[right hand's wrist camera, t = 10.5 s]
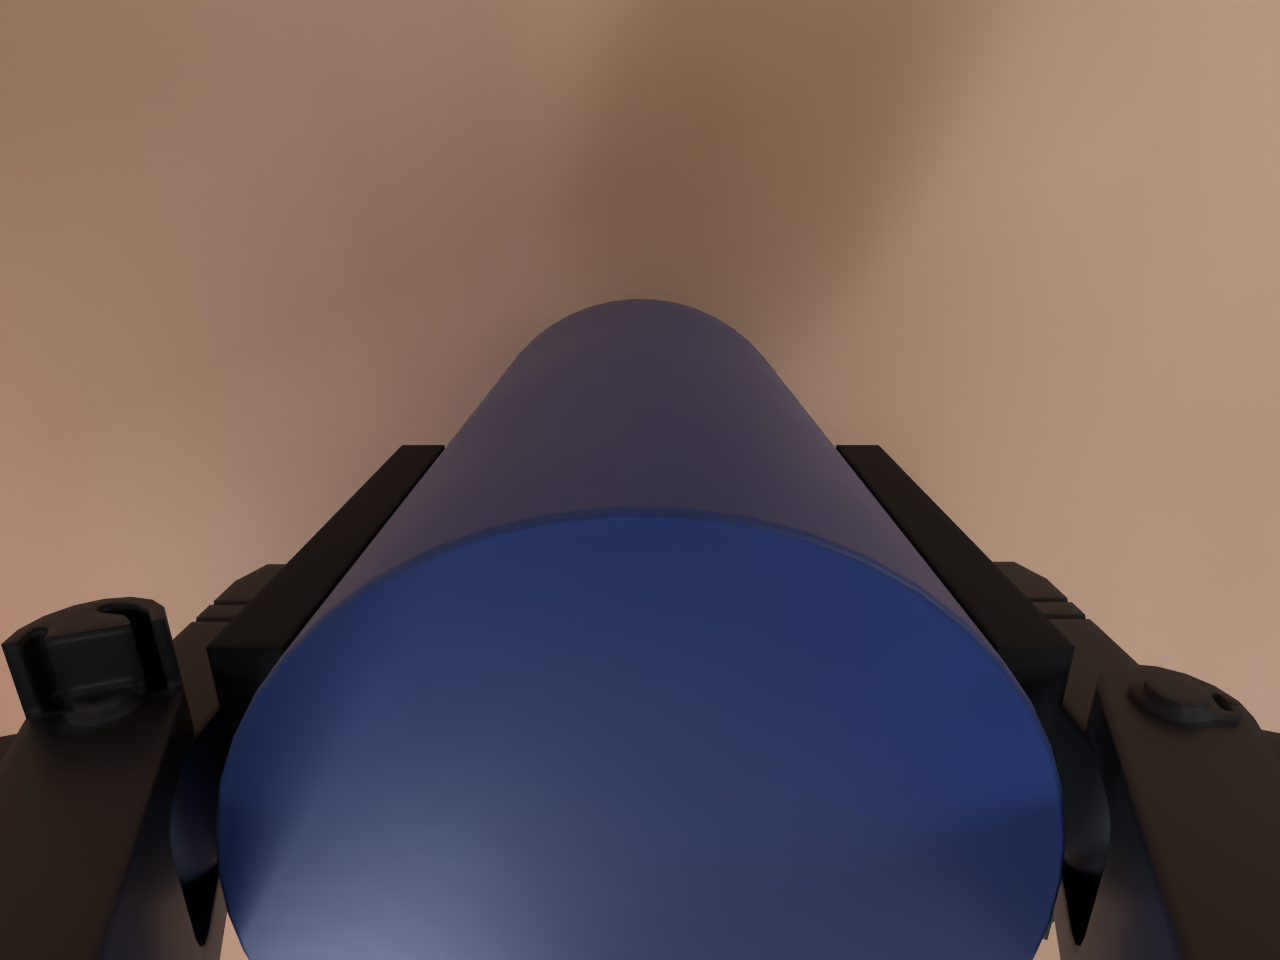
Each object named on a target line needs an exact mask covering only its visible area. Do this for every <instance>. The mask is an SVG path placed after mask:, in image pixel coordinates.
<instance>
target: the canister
mask: <svg viewBox="0 0 1280 960" xmlns="http://www.w3.org/2000/svg"><path fill="white" fill-rule="evenodd" d="M215 835H216V851H217V866H218V874H219V878H220V882H221V887H222V891H223V895H224V899H225V903H226V908H227V912H228V914H229V917H230V919H231V922H232V924H233V926H234V929H235V931H236V934H237V936H238V938H239V941H240V943H241V946H242V948H243V950H244V952H245V954H246V956H247V957H248V959H249V960H1033V958H1034V956H1035V954H1036V951H1037V949H1038V947H1039V945H1040V943H1041V940H1042V938H1043V936H1044V934H1045V932H1046V929H1047V927H1048V925H1049V923H1050V921H1051V917H1052V914H1053V910H1054V906H1055V903H1056V899H1057V895H1058V892H1059V888H1060V884H1061V881H1062V873H1063V863H1064V853H1065V843H1066V829H1065V816H1064V803H1063V791H1062V786H1061V782H1060V778H1059V774H1058V771H1057V767H1056V763H1055V759H1054V755H1053V751H1052V747H1051V744H1050V742H1049V740H1048V737H1047V735H1046V733H1045V731H1044V729H1043V727H1042V724H1041V722H1040V720H1039V718H1038V716H1037V713H1036V711H1035V709H1034V707H1033V705H1032V702H1031V701H1030V699H1029V698H1028V696H1027V695H1026V693H1025V692H1024V690H1023V689H1022V687H1021V686H1020V684H1019V683H1018V681H1017V680H1016V678H1015V677H1014V676H1013V674H1012V673H1011V671H1010V670H1009V668H1008V667H1007V665H1006V664H1005V662H1004V661H1003V659H1002V658H1001V657H1000V656H999V654H998V653H997V652H996V651H995V649H994V648H993V647H992V645H991V644H990V643H989V642H988V640H987V639H986V638H985V637H984V635H983V634H982V633H981V632H980V630H979V629H978V628H977V626H976V625H975V624H974V623H973V621H972V620H971V619H970V618H969V616H968V615H967V614H966V613H965V611H964V610H963V609H962V608H961V606H960V605H959V604H958V602H957V601H956V600H955V599H954V597H953V596H952V595H951V594H950V592H949V591H948V590H947V589H946V587H945V586H944V585H943V584H942V582H941V581H940V580H939V578H938V577H937V576H936V575H935V573H934V572H933V571H932V570H931V568H930V567H929V566H928V565H927V563H926V562H925V561H924V559H923V558H922V557H921V556H920V554H919V553H918V552H917V551H916V549H915V548H914V547H913V546H912V544H911V543H910V542H909V541H908V539H907V538H906V537H905V535H904V534H903V533H902V532H901V530H900V529H899V528H898V527H897V525H896V524H895V523H894V522H893V520H892V519H891V518H890V516H889V515H888V514H887V513H886V511H885V510H884V509H883V508H882V506H881V505H880V504H879V503H878V501H877V500H876V499H875V498H874V496H873V495H872V494H871V492H870V491H869V490H868V489H867V487H866V486H865V485H864V484H863V482H862V481H861V480H860V479H859V477H858V476H857V475H856V474H855V472H854V471H853V470H852V468H851V467H850V466H849V465H848V463H847V462H846V461H845V460H844V458H843V457H842V456H841V455H840V453H839V452H838V451H837V449H836V448H835V447H834V446H833V444H832V443H831V442H830V441H829V439H828V438H827V437H826V436H825V434H824V433H823V432H822V431H821V429H820V428H819V427H818V425H817V424H816V423H815V422H814V420H813V419H812V418H811V417H810V415H809V414H808V413H807V412H806V410H805V409H804V408H803V406H802V405H801V404H800V403H799V401H798V400H797V399H796V398H795V396H794V395H793V394H792V393H791V391H790V390H789V389H788V388H787V386H786V385H785V384H784V382H783V381H782V380H781V379H780V377H779V376H778V375H777V374H776V372H775V371H774V370H773V369H772V367H771V366H770V365H769V364H768V362H767V361H766V360H765V358H764V357H763V356H762V355H761V354H760V353H759V352H758V351H757V350H756V349H755V347H754V346H753V345H752V344H751V343H750V342H749V341H748V340H746V339H745V338H744V337H743V336H742V335H740V334H739V333H738V332H737V331H736V330H734V329H733V328H731V327H730V326H728V325H727V324H725V323H723V322H722V321H720V320H718V319H717V318H715V317H713V316H711V315H708V314H706V313H704V312H702V311H699V310H697V309H694V308H691V307H687V306H684V305H681V304H677V303H673V302H666V301H659V300H643V299H630V300H622V301H614V302H608V303H604V304H600V305H596V306H592V307H589V308H586V309H584V310H581V311H579V312H577V313H574V314H572V315H569V316H567V317H566V318H564V319H562V320H561V321H559V322H557V323H555V324H554V325H552V326H550V327H549V328H548V329H546V330H545V331H544V332H543V333H541V334H540V335H539V336H537V337H536V338H535V339H534V340H533V341H532V342H531V343H530V344H529V345H528V346H527V347H526V348H525V349H524V350H523V351H522V352H521V353H520V354H519V355H518V357H517V358H516V359H515V360H514V362H513V363H512V364H511V366H510V367H509V368H508V369H507V371H506V372H505V373H504V374H503V376H502V377H501V378H500V379H499V381H498V382H497V383H496V385H495V386H494V387H493V388H492V390H491V391H490V392H489V393H488V395H487V396H486V397H485V399H484V400H483V401H482V402H481V404H480V405H479V406H478V407H477V409H476V410H475V411H474V412H473V414H472V415H471V416H470V418H469V419H468V420H467V421H466V423H465V424H464V425H463V426H462V428H461V429H460V430H459V432H458V433H457V434H456V435H455V437H454V438H453V439H452V440H451V442H450V443H449V444H448V445H447V447H446V448H445V449H444V451H443V452H442V453H441V454H440V456H439V457H438V458H437V459H436V461H435V462H434V463H433V465H432V466H431V467H430V468H429V470H428V471H427V472H426V473H425V475H424V476H423V477H422V478H421V480H420V481H419V482H418V484H417V485H416V486H415V487H414V489H413V490H412V491H411V492H410V494H409V495H408V496H407V498H406V499H405V500H404V501H403V503H402V504H401V505H400V506H399V508H398V509H397V510H396V511H395V513H394V514H393V515H392V517H391V518H390V519H389V520H388V522H387V523H386V524H385V525H384V527H383V528H382V529H381V531H380V532H379V533H378V534H377V536H376V537H375V538H374V539H373V541H372V542H371V543H370V544H369V546H368V547H367V548H366V550H365V551H364V552H363V553H362V555H361V556H360V557H359V558H358V560H357V561H356V562H355V564H354V565H353V566H352V567H351V569H350V570H349V571H348V572H347V574H346V575H345V576H344V578H343V579H342V580H341V581H340V583H339V584H338V585H337V586H336V588H335V589H334V590H333V591H332V593H331V594H330V595H329V597H328V598H327V599H326V600H325V602H324V603H323V604H322V605H321V607H320V608H319V609H318V611H317V612H316V613H315V614H314V616H313V617H312V618H311V619H310V621H309V622H308V623H307V624H306V626H305V627H304V628H303V630H302V631H301V632H300V633H299V635H298V636H297V637H296V638H295V640H294V641H293V642H292V644H291V645H290V646H289V647H288V649H287V650H286V651H285V652H284V654H283V655H282V657H281V658H280V659H279V661H278V662H277V663H276V665H275V666H274V668H273V669H272V670H271V672H270V673H269V674H268V676H267V677H266V679H265V680H264V681H263V683H262V684H261V685H260V687H259V688H258V690H257V691H256V692H255V694H254V696H253V698H252V700H251V702H250V704H249V706H248V708H247V710H246V712H245V714H244V716H243V718H242V720H241V722H240V724H239V726H238V728H237V730H236V732H235V734H234V736H233V740H232V743H231V746H230V750H229V753H228V756H227V760H226V763H225V767H224V770H223V773H222V777H221V780H220V789H219V797H218V806H217V815H216V824H215Z"/></svg>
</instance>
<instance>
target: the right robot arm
mask: <svg viewBox="0 0 1280 960" xmlns="http://www.w3.org/2000/svg"><path fill="white" fill-rule="evenodd" d="M444 449H445V447H444V445H402V446H401V447H400V448H399V449H398V450H397V451H396V452H395V453H394V454H393V455H392V456H391V457H390V458H389V459H388V460H387V461H386V462H385V463H384V464H383V465H382V467H381V468H380V469H379V470H378V471H377V472H376V473H375V474H374V475H373V476H372V477H371V478H370V479H369V480H368V481H367V482H366V483H365V484H364V485H363V486H362V487H361V488H360V489H359V490H358V491H357V492H356V493H355V494H354V495H353V496H352V497H351V498H350V499H349V500H348V501H347V502H346V503H345V505H344V506H343V507H342V508H341V509H340V510H339V511H338V512H337V513H336V514H335V515H334V516H333V517H332V518H331V519H330V520H329V521H328V522H327V523H326V524H325V525H324V526H323V527H322V528H321V529H320V530H319V531H318V532H317V533H316V534H315V535H314V536H313V537H312V538H311V539H310V540H309V542H308V543H307V544H306V545H305V546H304V547H303V548H302V549H301V550H300V551H299V552H298V553H297V554H296V555H295V556H294V557H293V558H292V559H291V560H290V561H289V562H288V563H287V564H267V565H265V566H263V567H261V568H260V569H258V570H256V571H254V572H252V573H250V574H248V575H246V576H244V577H242V578H240V579H239V580H237V581H235V582H234V583H233V584H232V585H231V586H230V587H229V588H227V589H226V590H225V591H224V592H223V593H222V594H221V595H220V596H219V597H218V598H217V599H216V600H215V601H214V605H209V606H208V607H207V608H206V609H205V610H204V611H203V612H202V613H201V614H200V615H199V616H198V617H197V618H196V622H191V623H190V624H189V625H188V626H187V627H186V628H185V629H184V630H183V631H182V632H181V633H180V634H178V635H177V636H176V637H175V638H174V639H173V640H172V637H171V633H170V628H169V624H168V620H167V616H166V612H165V608H164V607H163V606H162V605H160V604H158V603H157V602H155V601H154V600H151V599H143V598H136V597H124V598H110V599H102V600H97V601H93V602H88V603H83V604H79V605H74V606H71V607H68V608H65V609H63V610H60V611H57V612H54V613H51V614H49V615H46V616H43V617H41V618H39V619H37V620H36V621H34V622H32V623H30V624H28V625H26V626H24V627H22V628H20V629H19V630H17V631H16V632H15V633H14V634H13V635H11V636H10V637H9V638H8V639H7V640H6V641H5V642H3V643H2V644H1V646H2V649H3V652H4V655H5V657H6V660H7V663H8V666H9V669H10V672H11V675H12V678H13V681H14V684H15V687H16V690H17V693H18V696H19V699H20V702H21V705H22V708H23V710H24V713H25V716H26V720H25V722H24V723H23V725H22V727H21V728H20V730H19V732H18V733H17V734H14V735H8V736H3V737H0V960H220V954H221V947H222V941H223V934H224V928H225V921H226V915H227V908H226V903H225V899H224V895H223V891H222V887H221V882H220V878H219V874H218V866H217V851H216V835H215V824H216V815H217V806H218V797H219V789H220V780H221V777H222V773H223V770H224V767H225V763H226V760H227V756H228V753H229V750H230V746H231V743H232V740H233V736H234V734H235V732H236V730H237V728H238V726H239V724H240V722H241V720H242V718H243V716H244V714H245V712H246V710H247V708H248V706H249V704H250V702H251V700H252V698H253V696H254V694H255V692H256V691H257V690H258V688H259V687H260V685H261V684H262V683H263V681H264V680H265V679H266V677H267V676H268V674H269V673H270V672H271V670H272V669H273V668H274V666H275V665H276V663H277V662H278V661H279V659H280V658H281V657H282V655H283V654H284V652H285V651H286V650H287V649H288V647H289V646H290V645H291V644H292V642H293V641H294V640H295V638H296V637H297V636H298V635H299V633H300V632H301V631H302V630H303V628H304V627H305V626H306V624H307V623H308V622H309V621H310V619H311V618H312V617H313V616H314V614H315V613H316V612H317V611H318V609H319V608H320V607H321V605H322V604H323V603H324V602H325V600H326V599H327V598H328V597H329V595H330V594H331V593H332V591H333V590H334V589H335V588H336V586H337V585H338V584H339V583H340V581H341V580H342V579H343V578H344V576H345V575H346V574H347V572H348V571H349V570H350V569H351V567H352V566H353V565H354V564H355V562H356V561H357V560H358V558H359V557H360V556H361V555H362V553H363V552H364V551H365V550H366V548H367V547H368V546H369V544H370V543H371V542H372V541H373V539H374V538H375V537H376V536H377V534H378V533H379V532H380V531H381V529H382V528H383V527H384V525H385V524H386V523H387V522H388V520H389V519H390V518H391V517H392V515H393V514H394V513H395V511H396V510H397V509H398V508H399V506H400V505H401V504H402V503H403V501H404V500H405V499H406V498H407V496H408V495H409V494H410V492H411V491H412V490H413V489H414V487H415V486H416V485H417V484H418V482H419V481H420V480H421V478H422V477H423V476H424V475H425V473H426V472H427V471H428V470H429V468H430V467H431V466H432V465H433V463H434V462H435V461H436V459H437V458H438V457H439V456H440V454H441V453H442V452H443V451H444ZM836 449H837V451H838V452H839V453H840V455H841V456H842V457H843V458H844V460H845V461H846V462H847V463H848V465H849V466H850V467H851V468H852V470H853V471H854V472H855V474H856V475H857V476H858V477H859V479H860V480H861V481H862V482H863V484H864V485H865V486H866V487H867V489H868V490H869V491H870V492H871V494H872V495H873V496H874V498H875V499H876V500H877V501H878V503H879V504H880V505H881V506H882V508H883V509H884V510H885V511H886V513H887V514H888V515H889V516H890V518H891V519H892V520H893V522H894V523H895V524H896V525H897V527H898V528H899V529H900V530H901V532H902V533H903V534H904V535H905V537H906V538H907V539H908V541H909V542H910V543H911V544H912V546H913V547H914V548H915V549H916V551H917V552H918V553H919V554H920V556H921V557H922V558H923V559H924V561H925V562H926V563H927V565H928V566H929V567H930V568H931V570H932V571H933V572H934V573H935V575H936V576H937V577H938V578H939V580H940V581H941V582H942V584H943V585H944V586H945V587H946V589H947V590H948V591H949V592H950V594H951V595H952V596H953V597H954V599H955V600H956V601H957V602H958V604H959V605H960V606H961V608H962V609H963V610H964V611H965V613H966V614H967V615H968V616H969V618H970V619H971V620H972V621H973V623H974V624H975V625H976V626H977V628H978V629H979V630H980V632H981V633H982V634H983V635H984V637H985V638H986V639H987V640H988V642H989V643H990V644H991V645H992V647H993V648H994V649H995V651H996V652H997V653H998V654H999V656H1000V657H1001V658H1002V659H1003V661H1004V662H1005V664H1006V665H1007V667H1008V668H1009V670H1010V671H1011V673H1012V674H1013V676H1014V677H1015V678H1016V680H1017V681H1018V683H1019V684H1020V686H1021V687H1022V689H1023V690H1024V692H1025V693H1026V695H1027V696H1028V698H1029V699H1030V701H1031V702H1032V705H1033V707H1034V709H1035V711H1036V713H1037V716H1038V718H1039V720H1040V722H1041V724H1042V727H1043V729H1044V731H1045V733H1046V735H1047V737H1048V740H1049V742H1050V744H1051V747H1052V751H1053V755H1054V759H1055V763H1056V767H1057V771H1058V774H1059V778H1060V782H1061V786H1062V791H1063V803H1064V816H1065V829H1066V843H1065V853H1064V863H1063V873H1062V881H1061V884H1060V888H1059V892H1058V895H1057V899H1056V903H1055V906H1054V910H1053V914H1052V917H1051V921H1050V923H1049V925H1048V927H1047V929H1046V932H1045V934H1044V936H1043V938H1042V939H1045V940H1047V939H1048V935H1049V931H1050V928H1051V924H1052V922H1054V921H1055V926H1056V932H1057V939H1058V945H1059V952H1060V958H1061V960H1280V733H1276V732H1270V731H1265V730H1261V728H1260V727H1259V725H1258V723H1257V722H1256V720H1255V719H1254V717H1253V716H1252V715H1251V714H1250V713H1249V712H1248V711H1247V710H1246V709H1245V708H1244V706H1243V705H1242V704H1241V703H1240V702H1239V701H1237V700H1236V699H1234V698H1233V697H1231V696H1230V695H1228V694H1226V693H1225V692H1223V691H1222V690H1220V689H1219V688H1217V687H1215V686H1213V685H1211V684H1209V683H1206V682H1204V681H1202V680H1199V679H1197V678H1194V677H1192V676H1190V675H1187V674H1184V673H1180V672H1176V671H1173V670H1169V669H1165V668H1161V667H1157V666H1145V665H1139V664H1137V663H1136V662H1135V661H1134V660H1133V659H1132V658H1131V657H1130V656H1129V655H1128V654H1127V653H1126V652H1125V651H1123V650H1122V649H1121V648H1120V647H1119V646H1118V645H1117V644H1116V643H1115V642H1114V641H1113V640H1112V639H1111V638H1110V637H1108V636H1107V635H1106V634H1105V633H1104V632H1103V631H1102V630H1101V629H1100V628H1099V627H1098V626H1097V625H1096V624H1094V623H1093V622H1092V621H1091V620H1090V619H1086V618H1085V614H1084V613H1083V612H1082V611H1081V610H1079V609H1078V608H1077V607H1076V606H1075V605H1074V604H1073V603H1072V602H1068V601H1067V599H1068V598H1067V597H1065V596H1064V595H1063V594H1062V593H1061V592H1060V591H1059V590H1058V589H1057V588H1056V587H1055V586H1054V585H1053V584H1052V583H1050V582H1049V581H1048V580H1047V579H1046V578H1044V577H1042V576H1040V575H1038V574H1036V573H1034V572H1033V571H1031V570H1029V569H1027V568H1025V567H1023V566H1021V565H1019V564H1017V563H1015V562H992V561H991V560H990V559H989V558H988V557H987V556H986V555H985V554H984V553H983V552H982V551H981V550H980V549H979V548H978V547H977V546H976V545H975V544H974V543H973V542H972V541H971V540H970V539H969V538H968V537H967V535H966V534H965V533H964V532H963V531H962V530H961V529H960V528H959V527H958V526H957V525H956V524H955V523H954V522H953V521H952V520H951V519H950V518H949V517H948V516H947V515H946V514H945V513H944V512H943V511H942V510H941V509H940V508H939V507H938V506H937V505H936V504H935V503H934V502H933V501H932V500H931V499H930V498H929V496H928V495H927V494H926V493H925V492H924V491H923V490H922V489H921V488H920V487H919V486H918V485H917V484H916V483H915V482H914V481H913V480H912V479H911V478H910V477H909V476H908V475H907V474H906V473H905V472H904V471H903V470H902V469H901V468H900V467H899V466H898V465H897V464H896V463H895V462H894V461H893V460H892V458H891V457H890V456H889V455H888V454H887V453H886V452H885V451H884V450H883V449H882V448H881V447H880V446H879V445H836Z"/></svg>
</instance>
